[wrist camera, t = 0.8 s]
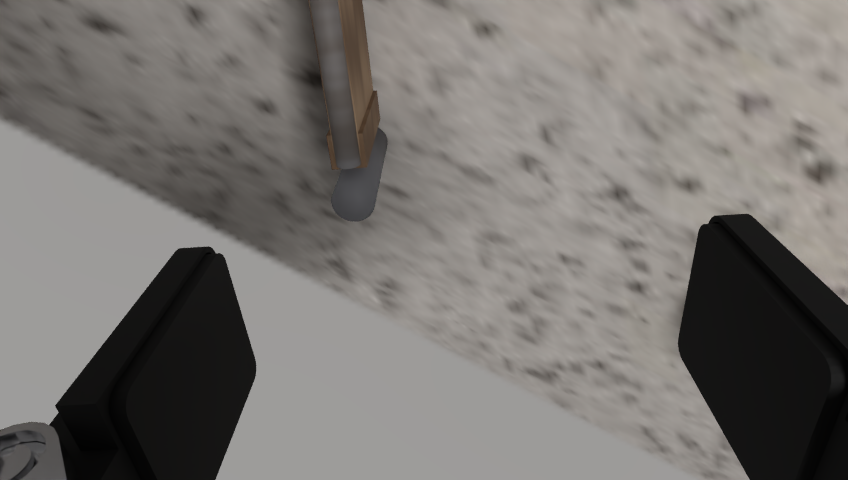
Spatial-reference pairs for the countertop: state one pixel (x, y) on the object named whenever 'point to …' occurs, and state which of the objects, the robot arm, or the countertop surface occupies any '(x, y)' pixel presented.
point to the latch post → (360, 184)
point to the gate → (345, 81)
